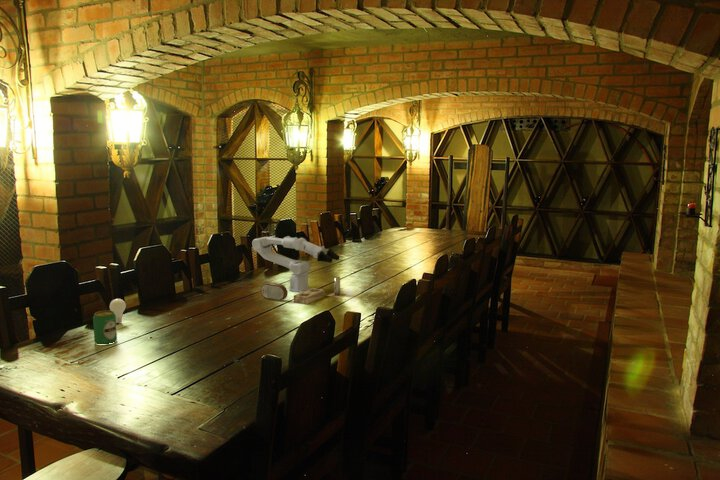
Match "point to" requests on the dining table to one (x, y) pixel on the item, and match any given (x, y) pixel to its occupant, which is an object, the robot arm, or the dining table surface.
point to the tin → (274, 291)
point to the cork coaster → (337, 296)
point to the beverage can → (104, 327)
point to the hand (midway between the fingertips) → (335, 259)
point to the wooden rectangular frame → (309, 296)
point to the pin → (336, 286)
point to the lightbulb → (118, 309)
